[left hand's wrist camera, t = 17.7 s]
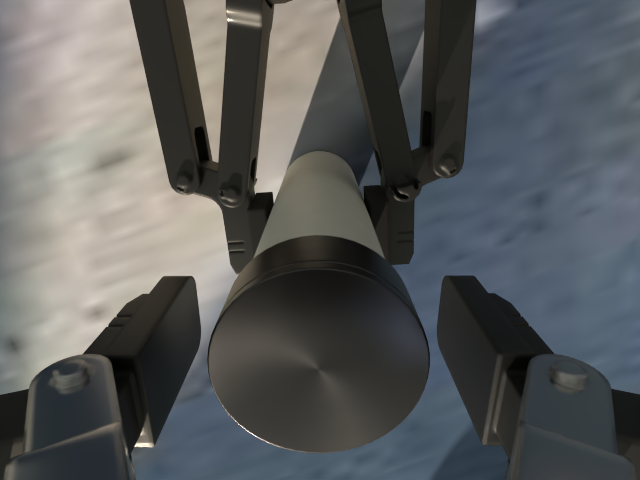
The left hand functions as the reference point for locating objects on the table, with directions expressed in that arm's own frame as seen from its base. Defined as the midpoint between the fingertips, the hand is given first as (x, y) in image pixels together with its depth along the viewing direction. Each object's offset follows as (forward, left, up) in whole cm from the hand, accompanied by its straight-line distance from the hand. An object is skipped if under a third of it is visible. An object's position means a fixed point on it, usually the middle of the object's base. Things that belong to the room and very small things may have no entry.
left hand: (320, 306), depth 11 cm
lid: (0, 0, +2) cm, 2 cm away
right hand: (+4, -4, -8) cm, 9 cm away
